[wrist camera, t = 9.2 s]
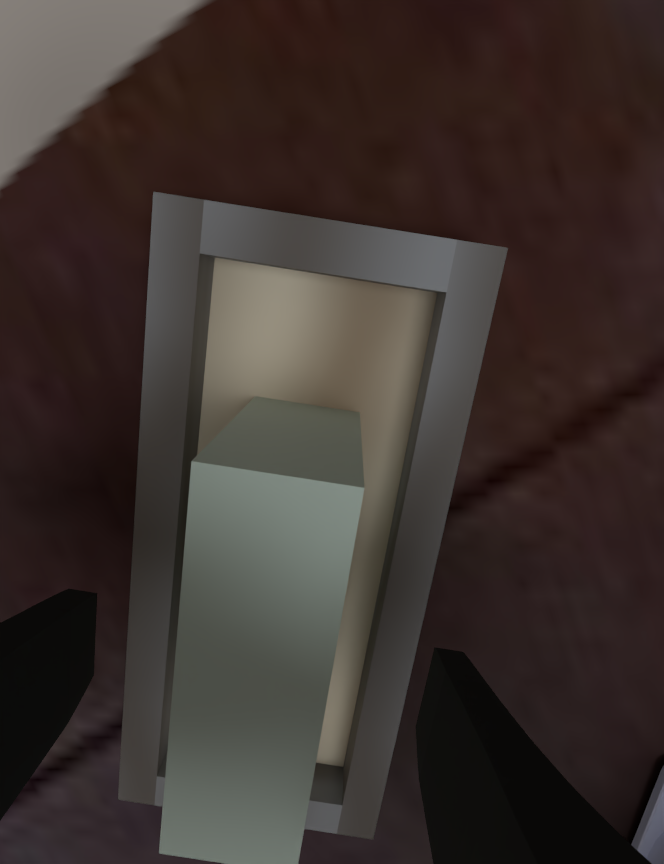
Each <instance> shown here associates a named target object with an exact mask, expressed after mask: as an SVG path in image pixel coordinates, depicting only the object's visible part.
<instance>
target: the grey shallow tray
mask: <svg viewBox="0 0 664 864" xmlns="http://www.w3.org/2000/svg"><path fill="white" fill-rule="evenodd" d="M507 250H508V248H505V247H499V246H493V245H486V244H480V243H474V242H467V241H461V240H455V239H448V238H442V237H436V236H429V235H423V234H417V233H410V232H404V231H398V230H392V229H385V228H379V227H373V226H366V225H360V224H354V223H347V222H341V221H335V220H328V219H322V218H316V217H309V216H303V215H297V214H290V213H284V212H278V211H272V210H265V209H259V208H253V207H246V206H240V205H234V204H227V203H221V202H215V201H208V200H202V199H196V198H189V197H183V196H177V195H171V194H164V193H158V192H153V207H152V224H151V241H150V258H149V276H148V293H147V310H146V327H145V344H144V361H143V379H142V396H141V413H140V430H139V447H138V464H137V482H136V499H135V516H134V533H133V550H132V567H131V585H130V602H129V619H128V636H127V653H126V670H125V688H124V705H123V722H122V739H121V756H120V773H119V791H118V800H124V801H131V802H137V803H143V804H150V805H156V806H162V807H163V798H164V786H165V774H166V762H167V750H168V738H169V726H170V714H171V702H172V689H173V677H174V665H175V653H176V641H177V629H178V617H179V605H180V593H181V581H182V569H183V557H184V545H185V533H186V521H187V509H188V497H189V485H190V473H191V461H192V460H193V459H194V458H195V457H196V456H197V455H198V454H199V453H200V452H201V451H202V450H203V449H204V448H205V447H206V446H207V445H208V444H209V443H210V442H211V441H212V440H213V439H214V438H215V437H216V436H217V435H218V434H219V433H220V432H221V431H222V430H223V429H224V428H225V427H226V426H227V425H228V423H229V422H230V421H231V420H232V419H233V418H234V417H235V416H236V415H237V414H238V413H239V412H240V411H241V410H242V409H243V408H244V407H245V406H246V405H247V404H248V403H249V402H250V401H251V400H252V399H253V398H254V397H255V396H257V397H264V398H270V399H277V400H283V401H290V402H296V403H303V404H309V405H315V406H322V407H328V408H335V409H341V410H348V411H354V412H360V423H361V440H362V456H363V472H364V493H363V499H362V505H361V510H360V516H359V522H358V527H357V533H356V539H355V544H354V550H353V556H352V561H351V567H350V573H349V578H348V584H347V590H346V595H345V601H344V607H343V612H342V618H341V624H340V629H339V635H338V641H337V646H336V652H335V658H334V663H333V669H332V675H331V680H330V686H329V692H328V697H327V703H326V709H325V714H324V720H323V726H322V731H321V737H320V743H319V748H318V754H317V760H316V765H315V771H314V777H313V782H312V788H311V793H310V799H309V805H308V810H307V816H306V822H305V827H304V829H309V830H315V831H322V832H328V833H334V834H341V835H347V836H353V837H360V838H366V839H373V838H374V834H375V829H376V825H377V820H378V816H379V812H380V807H381V803H382V798H383V794H384V790H385V785H386V781H387V777H388V772H389V768H390V763H391V759H392V755H393V750H394V746H395V741H396V737H397V733H398V728H399V724H400V719H401V715H402V711H403V706H404V702H405V697H406V693H407V689H408V684H409V680H410V675H411V671H412V667H413V662H414V658H415V654H416V649H417V645H418V640H419V636H420V632H421V627H422V623H423V618H424V614H425V610H426V605H427V601H428V596H429V592H430V588H431V583H432V579H433V574H434V570H435V566H436V561H437V557H438V553H439V548H440V544H441V539H442V535H443V531H444V526H445V522H446V517H447V513H448V509H449V504H450V500H451V495H452V491H453V487H454V482H455V478H456V473H457V469H458V465H459V460H460V456H461V452H462V447H463V443H464V438H465V434H466V430H467V425H468V421H469V416H470V412H471V408H472V403H473V399H474V394H475V390H476V386H477V381H478V377H479V372H480V368H481V364H482V359H483V355H484V351H485V346H486V342H487V337H488V333H489V329H490V324H491V320H492V315H493V311H494V307H495V302H496V298H497V293H498V289H499V285H500V280H501V276H502V271H503V267H504V263H505V258H506V254H507Z"/></svg>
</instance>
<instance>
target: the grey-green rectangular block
mask: <svg viewBox="0 0 664 864" xmlns="http://www.w3.org/2000/svg"><path fill="white" fill-rule="evenodd" d="M363 493H364V472H363V456H362V440H361V423H360V412H354V411H348V410H341V409H335V408H328V407H322V406H315V405H309V404H303V403H296V402H290V401H283V400H277V399H270V398H264V397H257V396H255V397H254V398H253V399H252V400H251V401H250V402H249V403H248V404H247V405H246V406H245V407H244V408H243V409H242V410H241V411H240V412H239V413H238V414H237V415H236V416H235V417H234V418H233V419H232V420H231V421H230V422H229V423H228V425H227V426H226V427H225V428H224V429H223V430H222V431H221V432H220V433H219V434H218V435H217V436H216V437H215V438H214V439H213V440H212V441H211V442H210V443H209V444H208V445H207V446H206V447H205V448H204V449H203V450H202V451H201V452H200V453H199V454H198V455H197V456H196V457H195V458H194V459H193V460H192V461H191V473H190V485H189V497H188V509H187V521H186V533H185V545H184V557H183V569H182V581H181V593H180V605H179V617H178V629H177V641H176V653H175V665H174V677H173V689H172V702H171V714H170V726H169V738H168V750H167V762H166V774H165V786H164V798H163V810H162V822H161V834H160V846H159V853H160V854H167V855H173V856H179V857H186V858H192V859H199V860H205V861H212V862H218V863H225V864H298V861H299V856H300V850H301V844H302V839H303V833H304V827H305V822H306V816H307V810H308V805H309V799H310V793H311V788H312V782H313V777H314V771H315V765H316V760H317V754H318V748H319V743H320V737H321V731H322V726H323V720H324V714H325V709H326V703H327V697H328V692H329V686H330V680H331V675H332V669H333V663H334V658H335V652H336V646H337V641H338V635H339V629H340V624H341V618H342V612H343V607H344V601H345V595H346V590H347V584H348V578H349V573H350V567H351V561H352V556H353V550H354V544H355V539H356V533H357V527H358V522H359V516H360V510H361V505H362V499H363Z"/></svg>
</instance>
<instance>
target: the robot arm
mask: <svg viewBox="0 0 664 864" xmlns="http://www.w3.org/2000/svg"><path fill="white" fill-rule="evenodd" d="M96 606H97V593H92V592H85V591H79V590H73V589H67V590H65V591H63V592H60V593H58V594H56V595H54V596H52V597H50V598H48V599H46V600H44V601H42V602H40V603H38V604H36V605H34V606H32V607H31V608H29V609H27V610H25V611H23V612H21V613H19V614H17V615H15V616H13V617H11V618H9V619H7V620H5V621H3V622H1V623H0V820H1V819H2V817H3V816H4V814H5V813H6V811H7V810H8V809H9V807H10V806H11V804H12V803H13V801H14V800H15V799H16V797H17V796H18V794H19V793H20V791H21V790H22V789H23V787H24V786H25V784H26V783H27V781H28V780H29V779H30V777H31V776H32V774H33V773H34V772H35V770H36V769H37V767H38V766H39V764H40V763H41V762H42V760H43V759H44V757H45V756H46V754H47V753H48V751H49V750H50V748H51V747H52V746H53V744H54V743H55V741H56V740H57V738H58V737H59V735H60V734H61V732H62V731H63V729H64V728H65V727H66V725H67V724H68V722H69V720H70V718H71V717H72V715H73V713H74V711H75V709H76V708H77V706H78V704H79V702H80V700H81V698H82V696H83V695H84V693H85V691H86V689H87V687H88V685H89V683H90V681H91V679H92V677H93V675H94V655H95V630H96ZM416 739H417V757H418V771H419V782H420V788H421V794H422V800H423V806H424V812H425V818H426V824H427V829H428V835H429V841H430V846H431V852H432V858H433V863H434V864H664V765H663V767H662V769H661V771H660V774H659V776H658V779H657V781H656V784H655V786H654V789H653V791H652V794H651V796H650V799H649V801H648V804H647V806H646V809H645V811H644V814H643V816H642V819H641V822H640V824H639V827H638V829H637V832H636V834H635V837H634V839H633V842H632V844H630V843H629V842H628V841H626V840H625V839H624V838H623V837H622V836H621V835H620V834H619V833H618V832H617V831H616V830H615V829H614V828H613V827H612V826H611V825H610V824H609V823H608V822H607V821H606V820H605V819H604V818H603V817H602V816H601V815H600V814H599V813H598V812H597V811H596V810H595V809H594V808H593V807H592V806H591V805H590V804H589V803H588V802H587V801H586V800H585V799H584V798H583V797H582V796H581V795H580V794H579V793H578V792H577V791H576V790H575V789H574V788H573V787H572V786H571V785H570V783H569V782H568V781H567V780H566V779H565V778H564V777H563V776H562V775H561V773H560V772H559V771H558V770H557V769H556V768H555V767H554V766H553V764H552V763H551V762H550V761H549V760H548V759H547V758H546V756H545V755H544V754H543V753H542V752H541V751H540V750H539V748H538V747H537V746H536V745H535V744H534V742H533V741H532V740H531V739H530V738H529V737H528V735H527V734H526V733H525V732H524V730H523V729H522V728H521V727H520V725H519V724H518V723H517V722H516V720H515V719H514V718H513V717H512V715H511V714H510V713H509V712H508V710H507V709H506V708H505V706H504V705H503V704H502V703H501V701H500V700H499V699H498V697H497V696H496V695H495V693H494V692H493V691H492V689H491V688H490V687H489V685H488V684H487V683H486V681H485V680H484V679H483V677H482V676H481V675H480V673H479V672H478V671H477V669H476V668H475V667H474V665H473V664H472V663H471V661H470V660H469V659H468V657H467V656H466V655H465V653H464V652H459V651H453V650H447V649H441V648H434V653H433V657H432V661H431V665H430V669H429V674H428V678H427V682H426V686H425V691H424V695H423V699H422V703H421V707H420V712H419V716H418V720H417V724H416Z"/></svg>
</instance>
